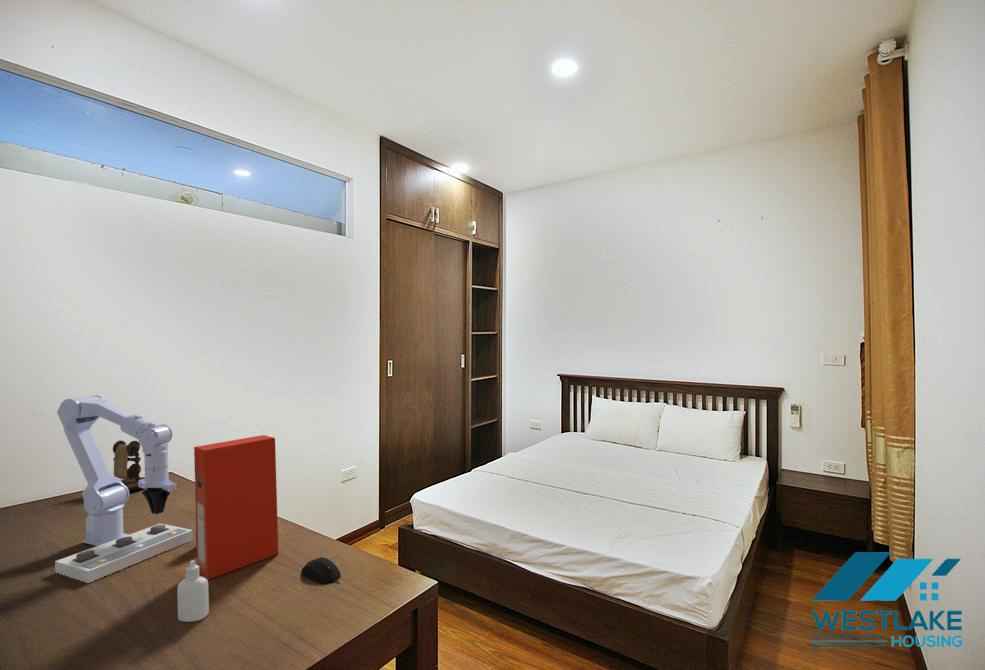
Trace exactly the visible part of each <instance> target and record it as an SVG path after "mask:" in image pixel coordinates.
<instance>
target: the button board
mask: <svg viewBox="0 0 985 670" xmlns="http://www.w3.org/2000/svg"><path fill="white" fill-rule="evenodd" d="M161 524H162V523H157V524H154V525H152V526H150V527H146V528H144V529H141V530H138V531H136V532H132V533H128V534H129V535H127V536H124V537H129V536H130V537H132V544H130V545H127V546H124V547H122V548H118V547H116V540H118V539H120V538H118V539H116V540H113V541H110V542H107V543H104V544H102V545H99V546H93V547H91V548H88V549H85V550H83V551H80V552H77V553H74V554H72V555H68V556H67V557H64V558H61V559H60V558H59V559H57V560H55V561H54V569H55V572H56V573H55V572H54V573H55V574H57V573H59V574H58V575H61V574H62V575H61V576H64V575H65V576H64V577H67V576H68V577H67V578H71V579H73V578H74V580H76V579H77V581H79V580H80V581H79V582H82V581H83V583H85V582H86V584H88V583H89V584H91V583H94V582H95V580H96V581H98V580H100V578H101V579H103V578H105V577H104V576H106V577H107V575H108V576H110V575H113V574H115V573H117V572H116V571H118V572H120V571H122V570H124V568H125V569H127V568H129V567H128V566H130V567H132V566H134V565H136V563H137V564H138V563H141V561H142V562H144V561H146V560H149V559H151V558H154V557H156V556H158V555H160V553H161V554H163V553H165V552H164V551H166V552H168V551H170V550H173V549H175V548H177V547H179V546H182V545H184V544H187V543H190V542H192V541H194V539H193V529H190V528H184V527H180V526H175V525H170V524H166V523H163V524H164V525H165V531H164V532H161V533H159V534H156V535H153V534H151V529H150V528H151V527H153V526H156V525H161ZM121 538H123V537H121ZM88 550H94V551H95V558H92V559H90V560H87V561H85V562H82V563H78V562H77V558H76V555H77V554H79V553H81V552H84V551H88ZM162 552H163V553H162ZM157 554H158V555H157ZM155 555H156V556H155ZM153 556H154V557H153ZM150 557H151V558H150ZM148 558H149V559H148ZM145 559H146V560H145ZM143 560H144V561H143ZM133 564H134V565H133ZM131 565H132V566H131ZM126 567H127V568H126ZM119 570H120V571H119ZM114 572H115V573H114ZM112 573H113V574H112ZM109 574H110V575H109ZM102 577H103V578H102ZM97 579H98V580H97ZM93 581H94V582H93ZM90 582H91V583H90Z"/></svg>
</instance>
